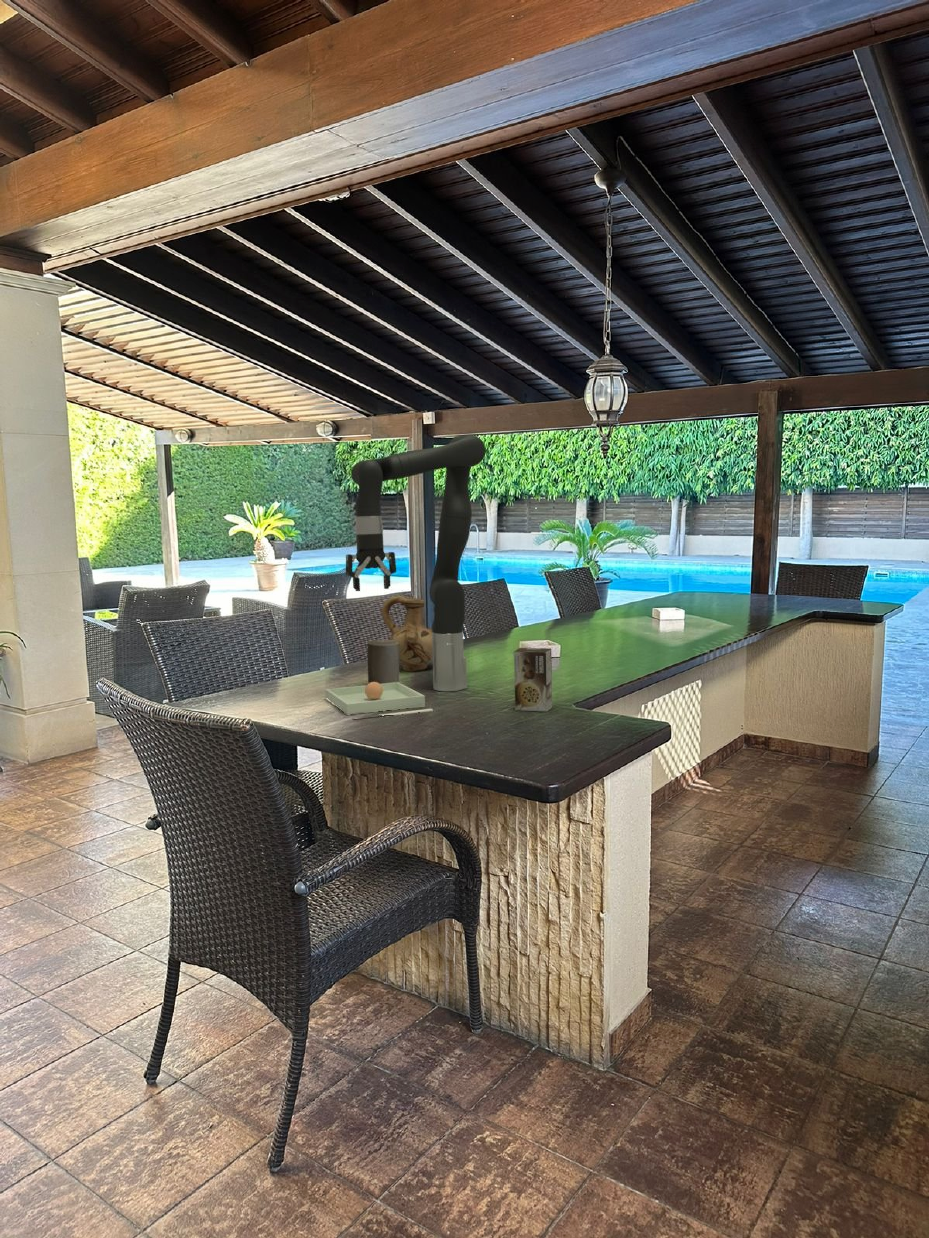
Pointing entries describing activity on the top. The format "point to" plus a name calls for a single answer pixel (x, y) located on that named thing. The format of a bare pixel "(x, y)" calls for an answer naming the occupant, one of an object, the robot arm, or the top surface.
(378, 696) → the ball
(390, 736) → the top surface
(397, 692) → the tray
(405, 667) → the ceramic vessel
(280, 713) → the top surface
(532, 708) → the coffee box
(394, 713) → the strip
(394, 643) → the pillar candle
